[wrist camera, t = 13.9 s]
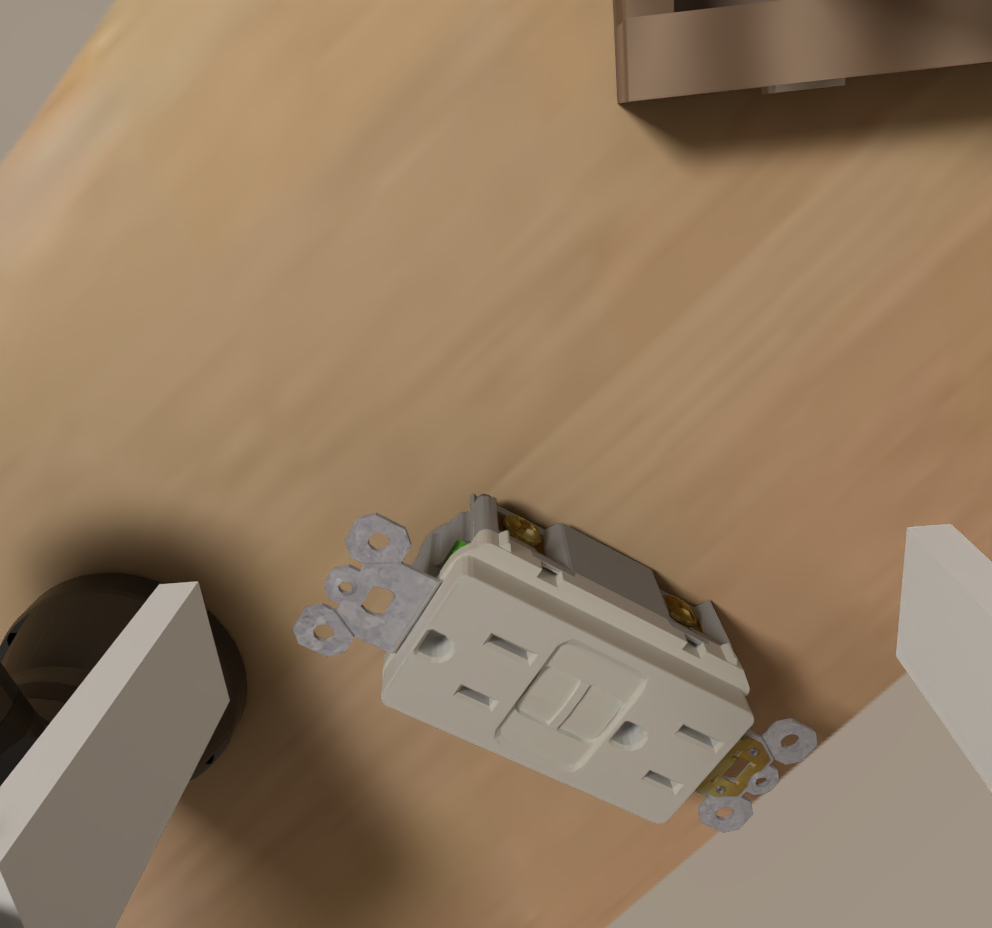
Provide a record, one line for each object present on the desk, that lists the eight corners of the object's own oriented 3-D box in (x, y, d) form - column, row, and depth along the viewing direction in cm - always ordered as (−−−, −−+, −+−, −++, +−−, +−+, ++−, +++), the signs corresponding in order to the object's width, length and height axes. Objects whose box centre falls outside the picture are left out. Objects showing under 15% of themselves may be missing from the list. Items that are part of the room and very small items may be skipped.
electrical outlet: (392, 419, 48) (375, 497, 38) (790, 627, 54) (855, 737, 45) (302, 576, 51) (267, 681, 42) (683, 752, 58) (723, 876, 49)
